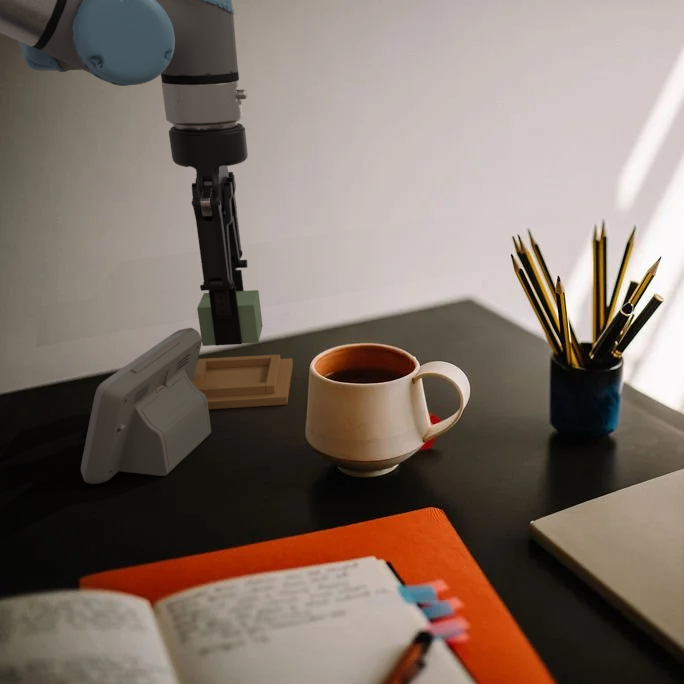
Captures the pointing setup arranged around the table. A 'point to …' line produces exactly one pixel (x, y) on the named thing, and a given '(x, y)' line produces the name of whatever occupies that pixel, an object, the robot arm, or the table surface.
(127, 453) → the digital clock
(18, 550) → the table surface
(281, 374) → the socket pad
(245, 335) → the green block
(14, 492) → the table surface
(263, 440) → the table surface
